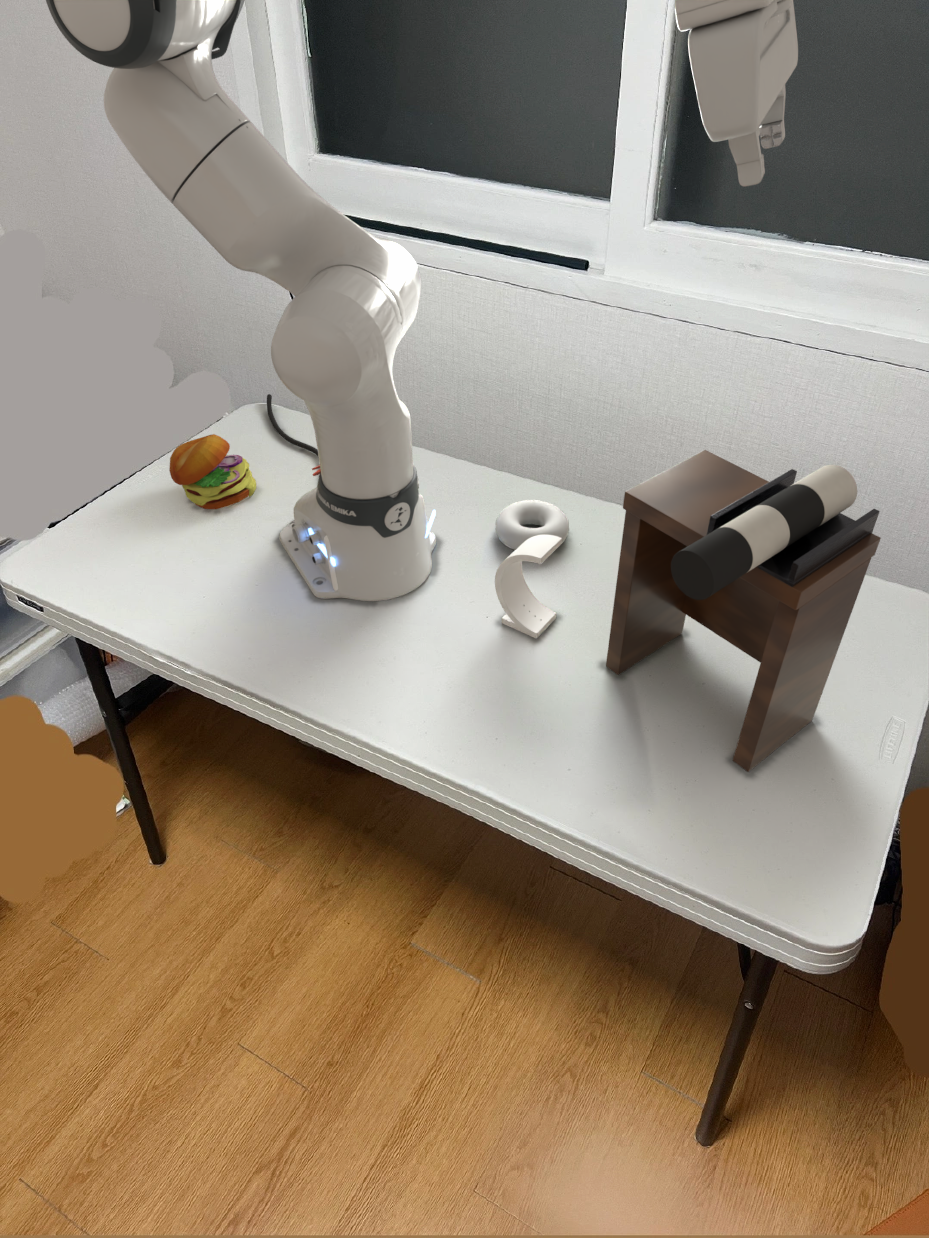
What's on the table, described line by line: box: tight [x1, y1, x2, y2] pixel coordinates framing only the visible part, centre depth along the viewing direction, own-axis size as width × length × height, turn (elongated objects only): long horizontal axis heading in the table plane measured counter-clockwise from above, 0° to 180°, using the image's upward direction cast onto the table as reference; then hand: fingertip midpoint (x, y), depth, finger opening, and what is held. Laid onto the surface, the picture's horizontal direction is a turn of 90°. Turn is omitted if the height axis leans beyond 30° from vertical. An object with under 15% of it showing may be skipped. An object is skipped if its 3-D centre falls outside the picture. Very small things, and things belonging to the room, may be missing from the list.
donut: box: [494, 499, 570, 551], centre depth 120 cm, size 10×4×10 cm
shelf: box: [605, 449, 882, 773], centre depth 91 cm, size 20×12×24 cm, turn 39°
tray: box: [707, 468, 881, 587], centre depth 80 cm, size 9×12×2 cm
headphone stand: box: [494, 535, 563, 639], centre depth 105 cm, size 5×6×12 cm
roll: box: [671, 464, 858, 600], centre depth 77 cm, size 20×4×4 cm, turn 129°
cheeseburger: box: [169, 433, 257, 510], centre depth 127 cm, size 10×11×10 cm
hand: (763, 163), depth 75 cm, fingers open, 8 cm apart
